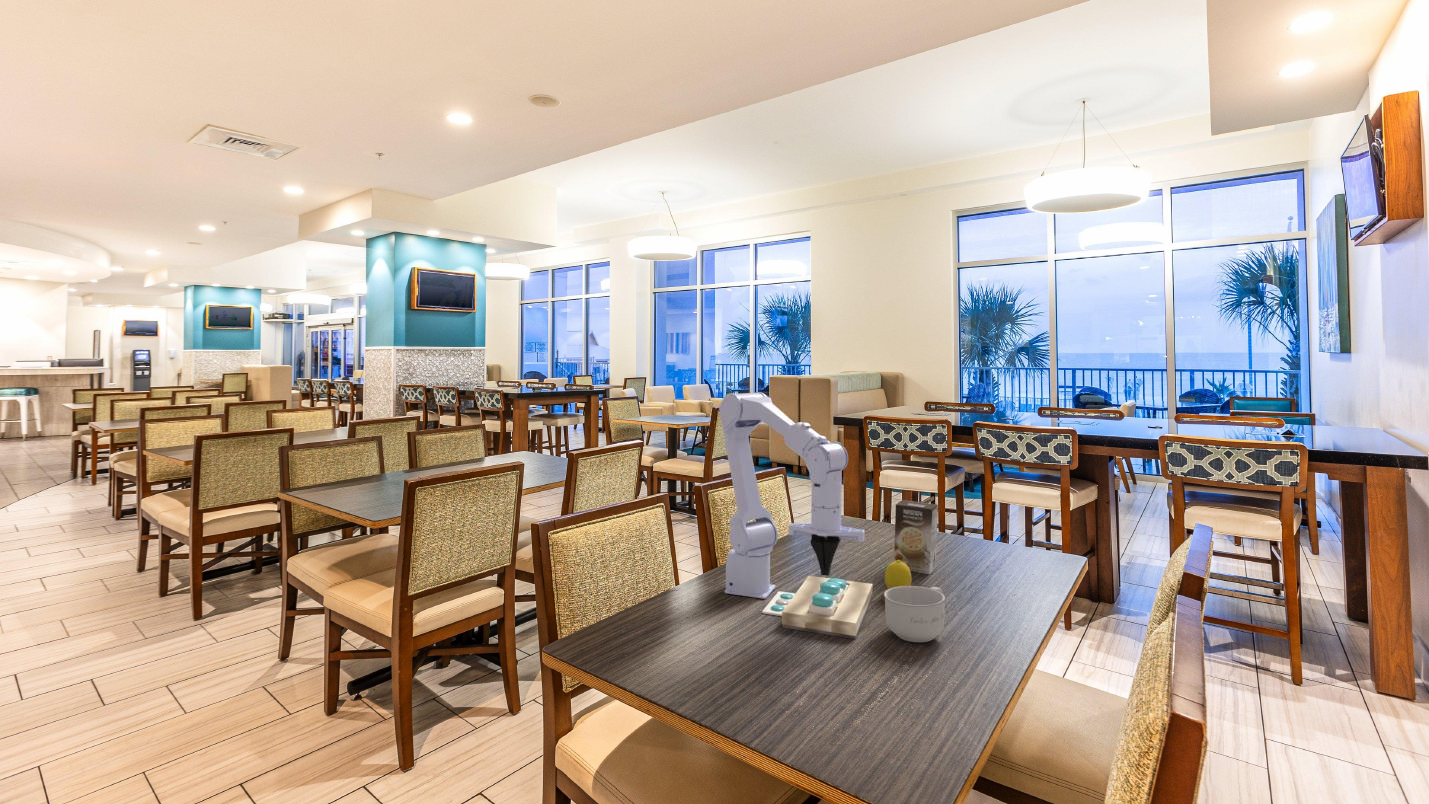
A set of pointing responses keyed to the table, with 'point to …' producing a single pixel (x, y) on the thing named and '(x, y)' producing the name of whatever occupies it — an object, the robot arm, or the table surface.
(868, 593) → the button board
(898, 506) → the coffee box
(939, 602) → the teacup
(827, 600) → the button near
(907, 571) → the lemon
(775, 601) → the card
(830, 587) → the button mid
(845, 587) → the button far
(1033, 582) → the table surface
